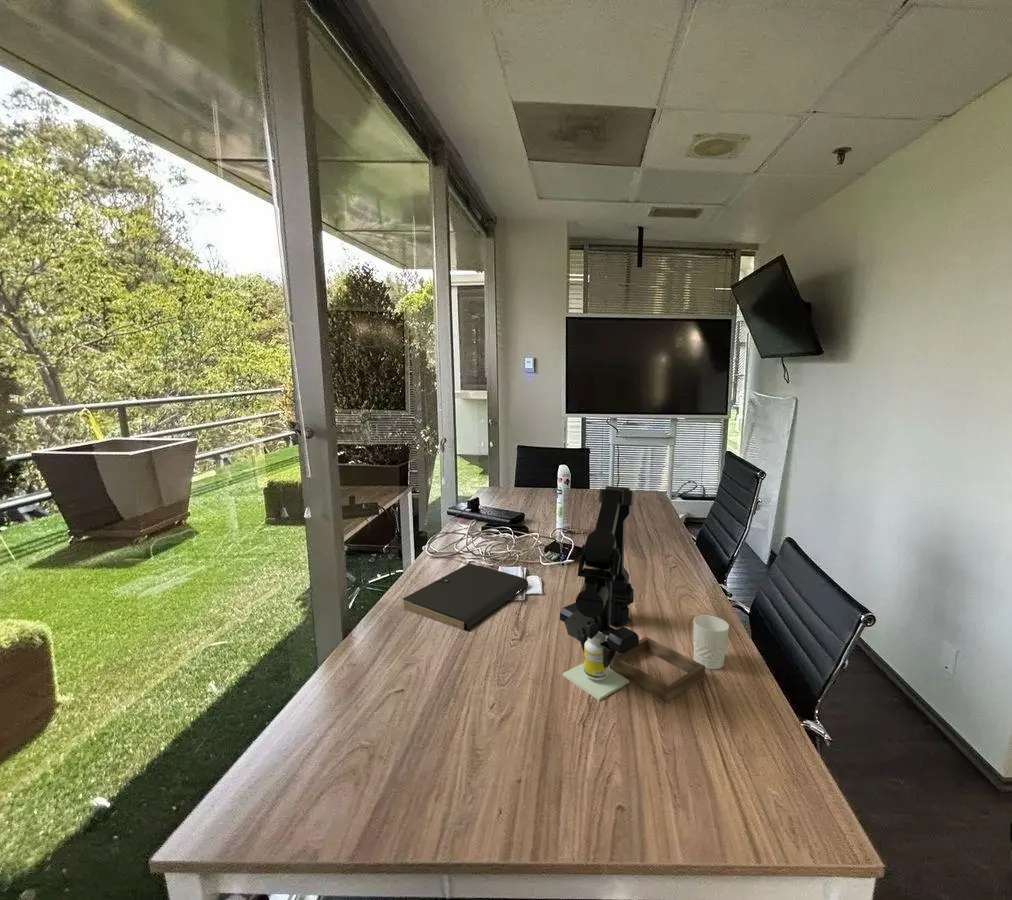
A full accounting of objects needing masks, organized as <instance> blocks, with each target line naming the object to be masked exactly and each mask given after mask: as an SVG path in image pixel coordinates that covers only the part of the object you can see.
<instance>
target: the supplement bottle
mask: <svg viewBox="0 0 1012 900" xmlns="http://www.w3.org/2000/svg"><path fill="white" fill-rule="evenodd" d="M606 639H607V636H606V635H605V634H601V633H599V632H598V634H597V635H595V636H594V637H593V638H592V639H590V638H588V640H586V642H585V645H584V652H583V654H584V656H583V663H584V673H585V675H586V676H587V677H589V678H591V679H594V680H602V679H604V678H606V677H607V675H608V668H609V666H608V667H606V668H604V664H603V647H602V646H601V645H600V643H602V642H604V641H606Z"/></svg>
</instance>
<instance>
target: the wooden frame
mask: <svg viewBox="0 0 1012 900" xmlns="http://www.w3.org/2000/svg"><path fill="white" fill-rule="evenodd" d="M646 652H647V653H650V654H651V655H654V656H656V657H657V658H660V659H661V660H663V661H665V662H667V663H669V664H671V665H673V666H675V667H677V668H678V669H681V670H682V671H683V672H686V674H684V675H682V676H681V677H679V678H678V679H676V680H675V681H673V682H672V683H670V684H669V685H667V684H665V683H663V682H662V681H660V680H659V679H657V678H655V677H653V676H652V675H649V674H647V673H646V672H644V671H643V670H641V669H639V668H637V667H636V666H634V665H633V664H630V663H628V662H629V661H631V660H632V659H634V658H636V657H638V656H640V655H641V654H644V653H646ZM608 668H609V669H611V670H613V671H614V672H616V673H618V674H619V675H621V676H623V677H624V678H626V679H628V680H629V681H631V682H633V683H634V684H636V685H638V686H639V687H640V688H642V689H644V690H646V691H647V692H649V693H651V694H653V695H654V696H656V697H658V698H659V699H661V700H662V701H664V702H666V703H668V704H670V703H671V702H673V701H674V700H676V698H679V697H680V696H681V695H683V694H684V693H685V692H687V691H688V690H690V689H691V688H692V687H694V686H695V685H698V683H700V682H701V681H702V680H704V679H705V676H706V675H705V674H706V668H705V666H704V665H702V664H700V663H698V662H696V661H694V659H692V658H689V657H688V656H686V655H684V654H681V653H679V652H678V651H676V650H673V649H672V648H669V647H668V646H665V645H663V644H661V643H659V642H657V641H656V640H653V639H652V638H650V637H647V636H645V637H643V638H641V639H639V645H638V646H637V647H635V648H633V649H631V650H629V651H627V652H625V653H624V654H621V653H618V652H616V653H615V655H614V657H613V659H612V660H611V662H610V664H609V666H608Z"/></svg>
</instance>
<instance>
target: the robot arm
mask: <svg viewBox="0 0 1012 900" xmlns="http://www.w3.org/2000/svg"><path fill="white" fill-rule="evenodd" d="M598 494H599V495H598V496H599V497H598V503H599V504H600V503H601V504H600V508H599V512H598V515H597V519H596V525H595V529H593V531H592V532H590V533H589V534H588V535H587V537H586V540H585V543H583V544H582V546H581V550H580V556H579V557H580V558H579V564H578V569H577V577H579V578H580V577H581V578H584V582H583V584H582V587H581V588H580V590H579V592H578V594H577V596H576V597H575V602H573V603H571V604H568V605H566V606H564V607H562V608H561V609H560V611H559V621H562V622H563V623H564V626H565V629H566V632H567V635H568V636H570V637H573V638H574V639H576V640H577V641H578V642H580V645H581V648H582V651H583V653H584V645H585V642H586V640H588V638H590V639H592V638H593V637H594V636H595V635H597V634H598V632H599V633H601V634H605V635H606V641H604V642H602V643H600V645H601V646H602V647H603V664H604V668H606V667H608V668H609V666H610V662H611V660H612V659H613V657H614V655H615V653H616V652H618V653H621V654H624V653H625V652H627V651H629V650H631V649H633V648H635V647H637V646H638V645H639V640H640V637H639V634H638V633H637V632H635V631H633V630H631V629H629V628H627V627H625V626H623V625H625V624H627V623H629V622H631V620H632V619H631V617H630V615H629V614H630V608H629V606H630V605H631V604H633V603H635V602H634V599H635V598H634V597H635V595H634V594H635V593H634V588H633V586H632V585H633V584H632V583H630V574H629V573H628V571H627V570H626V568H625V566H624V565H625V564H624V562H625V534H626V533H625V529H626V527H625V526H626V519H627V517H628V516H629V515H630V513H631V510H632V507H633V506H634V503H635V492H634V491H632V489H631V488H630V487H626V486H625V487H624V486H612V485H611V486H610V485H606V486H605V488H599V493H598ZM584 566H586V567H584ZM588 567H589V568H588ZM621 626H622V627H621ZM619 627H620V628H619Z"/></svg>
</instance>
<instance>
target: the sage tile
mask: <svg viewBox="0 0 1012 900" xmlns="http://www.w3.org/2000/svg"><path fill="white" fill-rule="evenodd" d="M562 677H564V678H566V680H568V681H570V682H571V683H573V684H574V685H576V687H578V688H579V689H581V690H583V691H584V692H586V693H587V694H589V695H590V696H591V697H592V698H595V699H596V700H597V701H601V700H603V699H605V698H606V697H608V696H610V695H611V694H612V693H615V692H617V690H620V689H621V688H623V687H624V686H626V685H628V684H629V683H630V680H629V679H627V678H626V677H624V676H623V675H621V674H619V673H618V672H616V671H614V670H613V669H611V668H609V667H608V675H607V677H606V678H604V679H602V680H594V679H591V678H589V677H587V676H586V675H585V673H584V662H582V663H580V664H578V665H577V666H575V667H572V668H570V669H568V670H567V671H565V672H563V673H562Z"/></svg>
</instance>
